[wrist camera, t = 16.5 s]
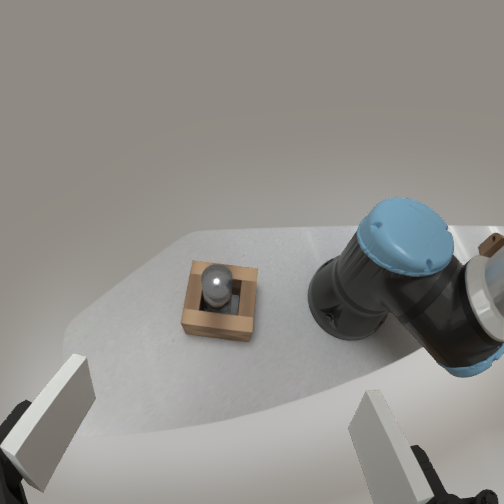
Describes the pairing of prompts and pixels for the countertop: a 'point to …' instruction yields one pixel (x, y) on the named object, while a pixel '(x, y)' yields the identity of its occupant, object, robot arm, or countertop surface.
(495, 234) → the wooden toy
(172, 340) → the countertop surface
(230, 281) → the silver metal peg
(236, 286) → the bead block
